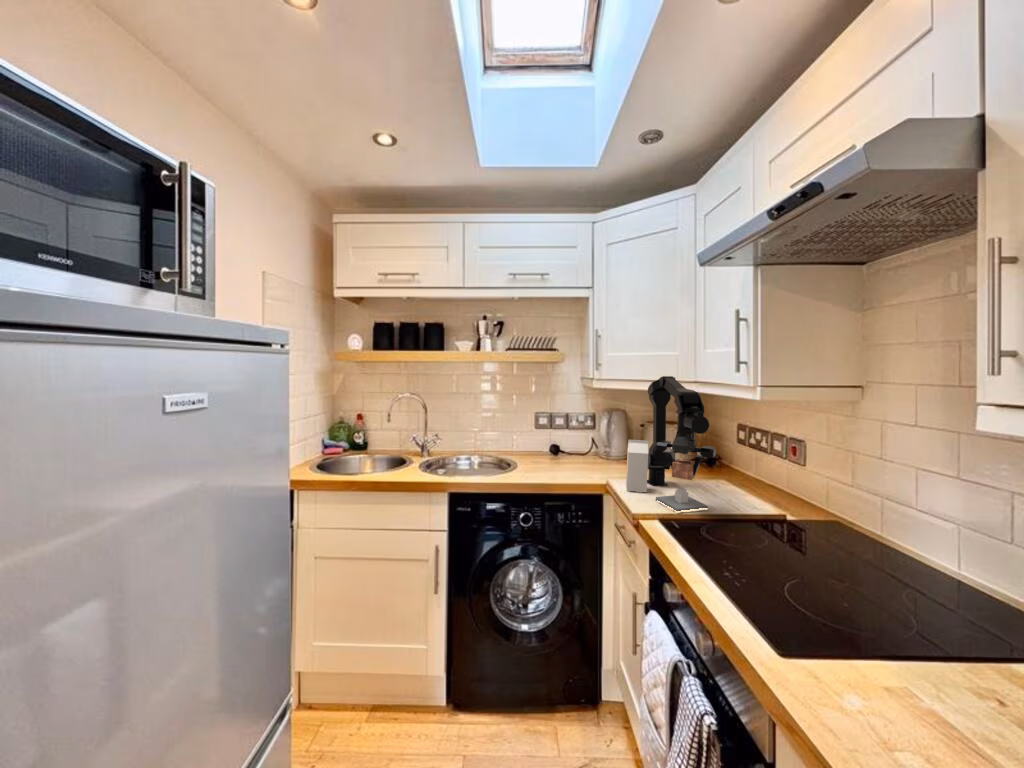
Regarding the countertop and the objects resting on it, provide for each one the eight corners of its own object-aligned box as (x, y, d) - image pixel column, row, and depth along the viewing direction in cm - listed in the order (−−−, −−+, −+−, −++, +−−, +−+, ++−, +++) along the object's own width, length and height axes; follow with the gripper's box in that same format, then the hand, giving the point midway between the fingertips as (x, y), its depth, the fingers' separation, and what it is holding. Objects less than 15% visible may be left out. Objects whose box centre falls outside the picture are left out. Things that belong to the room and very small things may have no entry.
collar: (671, 476, 156) (672, 462, 155) (676, 472, 161) (677, 458, 161) (691, 480, 152) (692, 465, 152) (695, 475, 158) (696, 461, 157)
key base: (655, 501, 162) (656, 484, 161) (684, 498, 165) (685, 482, 164) (676, 513, 150) (677, 495, 150) (707, 510, 153) (708, 492, 153)
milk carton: (646, 493, 170) (648, 442, 168) (626, 491, 171) (628, 441, 169) (644, 487, 177) (647, 438, 175) (625, 485, 178) (628, 437, 176)
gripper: (651, 428, 154) (649, 474, 155) (711, 435, 144) (708, 484, 145) (660, 424, 163) (658, 467, 164) (717, 430, 153) (714, 476, 154)
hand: (683, 473), depth 157 cm, fingers closed on collar, 6 cm apart
